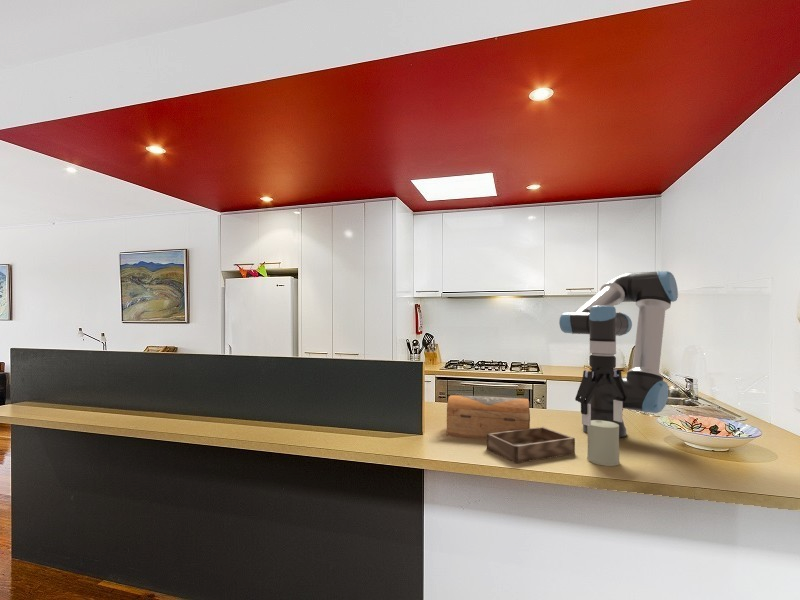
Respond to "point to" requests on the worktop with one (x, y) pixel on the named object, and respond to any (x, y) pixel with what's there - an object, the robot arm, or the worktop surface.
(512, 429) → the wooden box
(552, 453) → the crate
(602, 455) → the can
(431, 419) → the worktop surface
